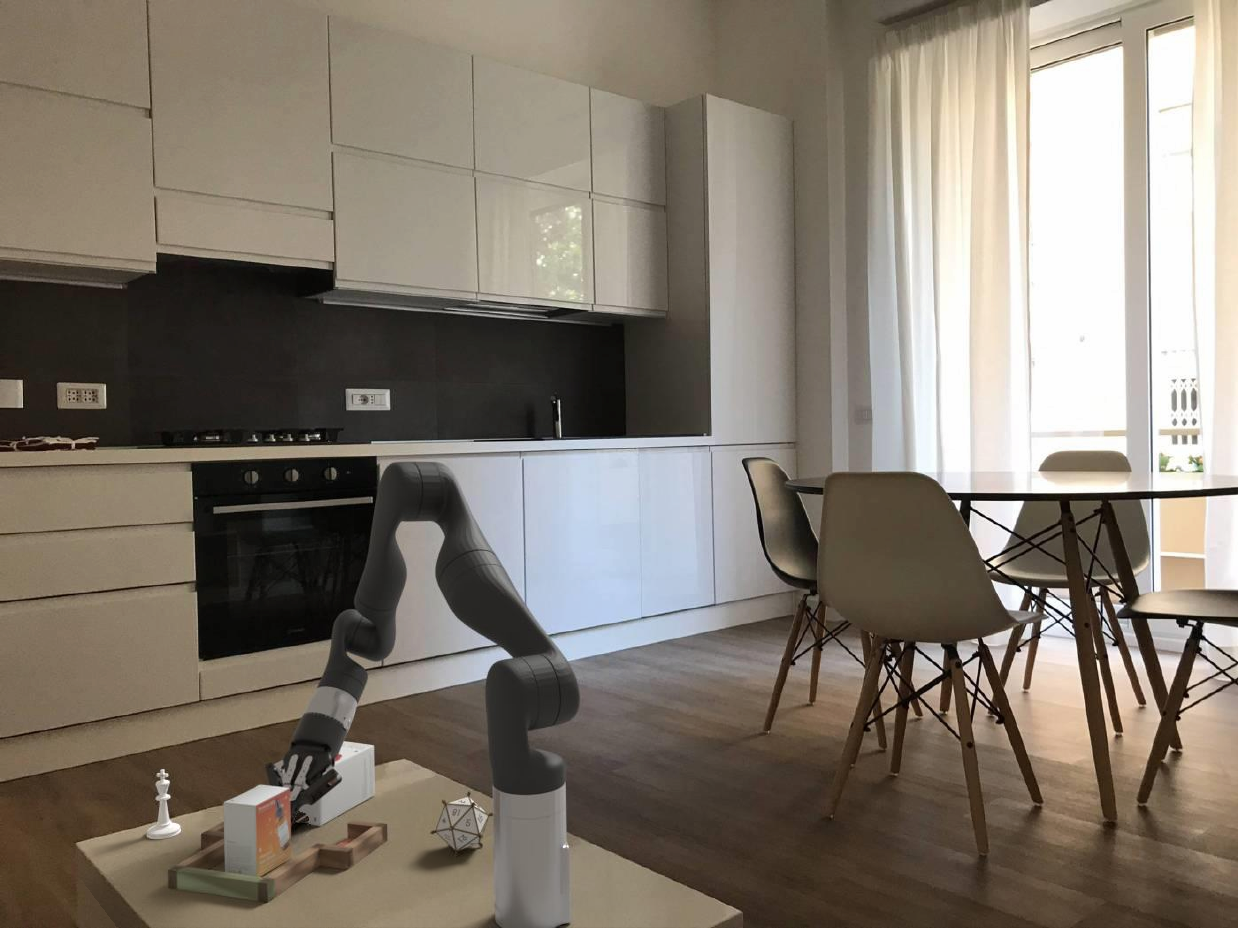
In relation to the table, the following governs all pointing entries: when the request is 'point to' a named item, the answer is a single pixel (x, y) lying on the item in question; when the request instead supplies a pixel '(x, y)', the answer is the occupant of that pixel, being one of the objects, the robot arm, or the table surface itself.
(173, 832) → the chess piece
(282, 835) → the small box
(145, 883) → the table surface
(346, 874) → the table surface
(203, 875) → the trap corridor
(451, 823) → the game die
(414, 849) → the table surface
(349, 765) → the supplement box
